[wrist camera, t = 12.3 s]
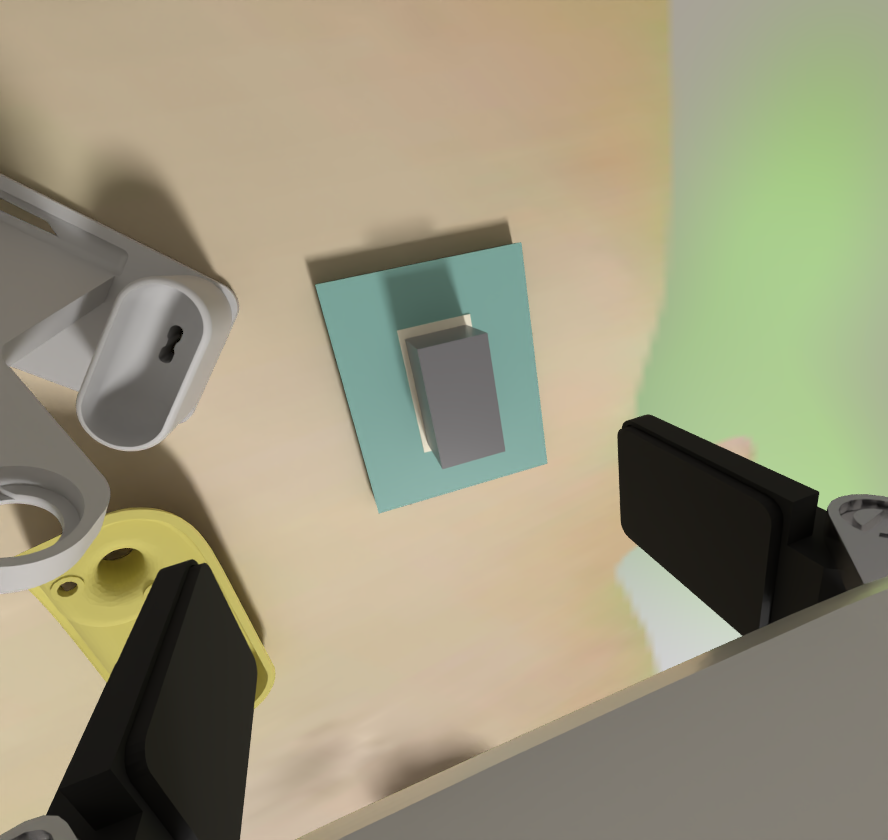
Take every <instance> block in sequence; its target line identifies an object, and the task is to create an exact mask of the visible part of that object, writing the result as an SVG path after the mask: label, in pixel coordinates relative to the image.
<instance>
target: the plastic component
mask: <svg viewBox="0 0 888 840" xmlns="http://www.w3.org/2000/svg"><path fill="white" fill-rule="evenodd" d="M61 535H62V534H61ZM61 535H59V536H57V537H55V538H53V539H51V540H49V541H47V542H44V543H42V544H40V545H38V546H36V547H33V548H31V549H29V550H27V551H25V552H23V553H21V554H18V555H16V556H22V555H27V554H31V553H34V552H38V551H41V550H43V549H46V548H48V547H50V546H52V545H54V544H55V543H56V542H57V541H58V540H59V538H60V537H61ZM122 548H133V550H132V551H131V553H129V554H128V555H127V556H125V557H123V558H121V559H116V560H104V559H102V558H103V557H104V556H106V555H107V554H108V553H110V552H112V551H114V550H118V549H122ZM16 556H14V557H16ZM190 559H193V560H195V561H197V562H198V564H202V563H207V564H208V565H209V567H210V568H211V570H212V572H213V574H214V576H215V578H216V580H217V582H218V584H219V586H220V588H221V590H222V592H223V595H224V597H225V599H226V601H227V603H228V605H229V607H230V609H231V611H232V613H233V615H234V617H235V619H236V621H237V623H238V625H239V627H240V629H241V631H242V633H243V635H244V637H245V639H246V641H247V643H248V645H249V647H250V649H251V651H252V653H253V655H254V658H255V661H256V665H257V685H256V694H255V703H254V709H255V708H256V707H257V706H258V705H259V704H260V703H261V702H262V701H263V700H264V699H265V698H266V696H267V695H268V694H269V692H270V690H271V688H272V686H273V684H274V680H275V668H274V666H273V664H272V662H271V660H270V658H269V656H268V654H267V652H266V650H265V648H264V647H263V645H262V643H261V641H260V639H259V637H258V635H257V633H256V631H255V629H254V627H253V626H252V624H251V622H250V620H249V618H248V616H247V614H246V612H245V610H244V608H243V607H242V605H241V603H240V601H239V599H238V597H237V595H236V593H235V591H234V589H233V588H232V586H231V584H230V582H229V580H228V578H227V576H226V574H225V572H224V570H223V569H222V567H221V565H220V563H219V561H218V560H217V558H216V556H215V554H214V553H213V551H212V549H211V548H210V546H209V545H208V543H207V542H206V541H205V539H204V538H203V537H202V535H201V534H200V533H199V532H198V531H197V530H196V529H195V528H194V527H193V526H192V525H190V524H189V523H188V522H187V521H185V520H184V519H182V518H180V517H179V516H177V515H175V514H172V513H170V512H167V511H164V510H161V509H156V508H125V509H120V510H116V511H113V512H110V513H107V514H105V518H104V521H103V524H102V527H101V530H100V532H99V534H98V535H97V537H96V538H95V539H94V541H93V542H92V543H91V545H90V546H89V548H88V549H87V550H86V552H85V553H84V555H83V556H82V557H81V558H80V560H79V561H78V562H77V563H76V564H75V565H74V566H73V567H72V568H70V569H69V570H68V571H67V572H65V573H64V574H62V575H61V576H59V577H57V578H55V579H54V580H52V581H49V582H47V583H45V584H42V585H40V586H37V587H34V588H31V589H28V590H29V591H30V592H31V593H32V594H33V595H34V596H35V597H36V598H37V599H38V600H39V601H40V602H41V603H42V604H43V605H44V606H45V607H46V608H47V609H48V611H49V612H50V613H51V614H52V615H53V616H54V617H55V619H56V620H57V621H58V622H59V623H60V624H61V626H62V627H63V628H64V629H65V631H66V632H67V633H68V634H69V635H70V637H71V638H72V639H73V640H74V642H75V643H76V644H77V645H78V647H79V648H80V649H81V651H82V652H83V653H84V654H85V656H86V657H87V658H88V659H89V661H90V662H91V663H92V665H93V666H94V667H95V668H96V670H97V671H98V672H99V673H100V675H101V676H102V677H103V679H104V680H105V681H106V682H107V681H108V679H109V677H110V675H111V672H112V670H113V668H114V666H115V664H116V663H117V661H118V659H119V657H120V654H121V652H122V650H123V648H124V646H125V643H126V641H127V639H128V637H129V635H130V632H131V630H132V628H133V626H134V624H135V622H136V619H137V617H138V615H139V613H140V611H141V608H142V606H143V604H144V602H145V600H146V597H147V595H148V593H149V591H150V589H151V587H152V584H153V582H154V580H155V578H156V576H157V573H158V572H159V570H160V569H162V568H165V567H168V566H172V565H175V564H178V563H181V562H184V561H187V560H190ZM65 582H75V583H76V584H77V585H76V586H75V587H74V588H73V589H72V590H69V591H65V590H64V589H63V587H62V586H61V584H63V583H65Z"/></svg>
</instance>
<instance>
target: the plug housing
mask: <svg viewBox="0 0 888 840" xmlns="http://www.w3.org/2000/svg"><path fill="white" fill-rule="evenodd" d="M405 342H406V346H407V351H408V356H409V360H410V365H411V369H412V374H413V378H414V383H415V387H416V392H417V397H418V401H419V406H420V410H421V415H422V419H423V424H424V428H425V433H426V437H427V442H428V445H429V447H430V449H431V451H432V452H433V454H434V456H435V457H436V459H437V461H438V462H439V464H440V466H441V468H442V469H446V468H449V467H453V466H456V465H460V464H463V463H467V462H470V461H473V460H477V459H480V458H484V457H487V456H491V455H494V454H498V453H501V452H505V444H504V438H503V431H502V425H501V418H500V412H499V405H498V399H497V392H496V386H495V379H494V373H493V366H492V360H491V353H490V347H489V340H488V334H487V333H486V332H484V331H481V330H479V329H476V328H473V327H471V326H468V325H462V326H458V327H454V328H450V329H445V330H441V331H437V332H432V333H428V334H424V335H420V336H415V337H411V338H407V339H405Z"/></svg>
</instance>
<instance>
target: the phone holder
mask: <svg viewBox="0 0 888 840" xmlns="http://www.w3.org/2000/svg"><path fill="white" fill-rule="evenodd" d="M0 198H1V199H3V200H5V201H7V202H9V203H11V204H13V205H15V206H17V207H19V208H21V209H23V210H25V211H27V212H29V213H31V214H33V215H35V216H37V217H39V218H41V219H43V220H45V221H47V222H48V223H49V225H50V226H51V228H52V229H53V230H54V232H55V233H56V235H57V236H56V235H54V234H52V233H50V232H47V231H45V230H43V229H41V228H38V227H36V226H34V225H32V224H30V223H27V222H25V221H23V220H21V219H19V218H16V217H14V216H12V215H10V214H7V213H5V212H3V211H1V210H0V505H2V504H10V503H20V504H29V505H34V506H38V507H41V508H43V509H45V510H47V511H49V512H51V513H52V514H53V515H55V516H56V518H57V519H58V520H59V522H60V523H61V526H62V531H63V532H62V535H61V537H60V538H59V540H58V541H57V542H56V543H55V544H54V545H52V546H50V547H48V548H46V549H43V550H41V551H38V552H34V553H31V554H27V555H22V556H16V557H8V558H0V594H5V593H13V592H19V591H23V590H27V589H31V588H34V587H37V586H40V585H42V584H45V583H47V582H49V581H52V580H54V579H55V578H57V577H59V576H61V575H62V574H64V573H65V572H67V571H68V570H69V569H70V568H72V567H73V566H74V565H75V564H76V563H77V562H78V561H79V560H80V558H81V557H82V556H83V555H84V553H85V552H86V550H87V549H88V548H89V546H90V545H91V543H92V542H93V541H94V539H95V538H96V537H97V535H98V534H99V532H100V530H101V527H102V524H103V521H104V518H105V514H106V511H107V507H108V504H109V500H110V487H109V484H108V482H107V480H106V479H105V477H104V476H103V475H102V474H101V473H100V471H99V470H98V469H97V468H96V467H95V466H94V464H93V463H92V462H91V461H90V460H89V459H88V457H87V456H86V455H85V454H84V453H83V452H82V450H81V449H80V448H79V447H78V446H77V445H76V443H75V442H74V441H73V440H72V439H71V438H70V436H69V435H68V434H67V433H66V432H65V431H64V429H63V428H62V427H61V426H60V425H59V424H58V423H57V421H56V420H55V419H54V418H53V417H52V416H51V414H50V413H49V412H48V411H47V410H46V409H45V407H44V406H43V405H42V404H41V403H40V402H39V400H38V399H37V398H36V397H35V396H34V395H33V393H32V392H31V391H30V390H29V389H28V388H27V386H26V385H25V384H24V383H23V382H22V381H21V379H20V378H19V377H18V376H17V375H16V374H15V372H14V371H13V370H12V369H11V368H10V366H11V367H14V368H17V369H19V370H22V371H25V372H27V373H30V374H33V375H35V376H38V377H41V378H43V379H46V380H49V381H51V382H54V383H57V384H59V385H62V386H65V387H67V388H70V389H73V390H75V391H78V392H79V393H78V395H77V399H76V413H77V417H78V419H79V422H80V424H81V425H82V427H83V428H84V430H85V431H86V432H87V433H88V434H89V435H90V436H91V437H92V438H93V439H95V440H96V441H98V442H99V443H101V444H103V445H105V446H107V447H110V448H113V449H116V450H122V451H140V450H144V449H148V448H150V447H153V446H155V445H157V444H158V443H160V442H161V441H162V440H163V439H165V438H166V437H167V435H168V434H169V433H170V432H171V431H172V430H173V429H174V428H175V427H176V426H177V425H178V424H180V423H183V422H185V421H186V420H188V419H189V418H190V417H191V416H192V414H193V413H194V411H195V409H196V407H197V405H198V403H199V400H200V398H201V396H202V394H203V391H204V389H205V387H206V385H207V382H208V380H209V378H210V376H211V373H212V371H213V369H214V367H215V365H216V362H217V360H218V358H219V356H220V353H221V351H222V349H223V347H224V344H225V342H226V340H227V338H228V336H229V333H230V331H231V329H232V327H233V324H234V322H235V320H236V318H237V315H238V312H239V302H238V299H237V297H236V295H235V294H234V292H233V291H232V290H231V289H230V288H229V287H227V286H226V285H224V284H222V283H220V282H218V281H216V280H214V279H212V278H210V277H208V276H206V275H204V274H202V273H200V272H198V271H196V270H194V269H192V268H190V267H188V266H186V265H184V264H182V263H180V262H178V261H176V260H174V259H172V258H170V257H168V256H166V255H164V254H162V253H160V252H158V251H156V250H154V249H152V248H150V247H148V246H146V245H144V244H142V243H140V242H138V241H136V240H134V239H132V238H130V237H128V236H126V235H124V234H122V233H120V232H118V231H116V230H114V229H112V228H110V227H108V226H106V225H104V224H102V223H100V222H97V221H95V220H93V219H91V218H89V217H87V216H85V215H83V214H81V213H79V212H77V211H75V210H73V209H71V208H69V207H67V206H65V205H63V204H61V203H59V202H57V201H55V200H53V199H51V198H49V197H47V196H45V195H43V194H41V193H39V192H37V191H35V190H33V189H31V188H29V187H27V186H25V185H23V184H21V183H19V182H17V181H15V180H13V179H11V178H9V177H7V176H5V175H3V174H1V173H0ZM181 328H182V329H183V335H182V338H181V340H180V341H179V342H178V343H176V345H175V347H174V352H175V354H173V353H172V351H171V350H172V348H173V346H174V344H175V342H176V341H177V340H179V338H180V336H181V332H180V330H181Z"/></svg>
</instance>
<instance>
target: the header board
mask: <svg viewBox="0 0 888 840" xmlns="http://www.w3.org/2000/svg"><path fill="white" fill-rule="evenodd" d="M315 286H316V290H317V293H318V297H319V300H320V304H321V308H322V311H323V315H324V318H325V322H326V325H327V329H328V333H329V336H330V340H331V343H332V347H333V350H334V354H335V358H336V361H337V365H338V368H339V372H340V376H341V379H342V383H343V386H344V390H345V393H346V397H347V401H348V404H349V408H350V411H351V415H352V419H353V422H354V426H355V429H356V433H357V436H358V440H359V444H360V447H361V451H362V454H363V458H364V461H365V465H366V469H367V472H368V476H369V479H370V483H371V487H372V490H373V494H374V497H375V501H376V504H377V508H378V512H379V513H382V512H385V511H389V510H392V509H396V508H399V507H402V506H406V505H409V504H412V503H416V502H419V501H423V500H426V499H429V498H433V497H436V496H439V495H443V494H446V493H449V492H453V491H456V490H460V489H463V488H466V487H470V486H473V485H476V484H480V483H483V482H487V481H490V480H493V479H497V478H500V477H503V476H507V475H510V474H513V473H517V472H520V471H524V470H527V469H530V468H534V467H537V466H540V465H544V464H547V456H546V448H545V439H544V431H543V423H542V414H541V406H540V397H539V389H538V380H537V372H536V363H535V355H534V346H533V338H532V329H531V321H530V312H529V304H528V296H527V287H526V279H525V270H524V262H523V253H522V245H521V242H520V243H513V244H508V245H504V246H499V247H494V248H489V249H484V250H479V251H474V252H470V253H465V254H460V255H455V256H450V257H445V258H440V259H436V260H431V261H426V262H421V263H416V264H411V265H407V266H402V267H397V268H392V269H387V270H382V271H377V272H373V273H368V274H363V275H358V276H353V277H348V278H343V279H339V280H334V281H329V282H324V283H319V284H315ZM462 325H468V326H471V327H473V328H476V329H479V330H481V331H484V332H486V333H487V334H488V340H489V347H490V353H491V360H492V366H493V373H494V379H495V386H496V392H497V399H498V405H499V412H500V418H501V425H502V431H503V438H504V444H505V452H501V453H498V454H494V455H491V456H487V457H484V458H480V459H477V460H473V461H470V462H467V463H463V464H460V465H456V466H453V467H449V468H446V469H442V468H441V466H440V464H439V462H438V461H437V459H436V457H435V456H434V454H433V452H432V451H431V449H430V447H429V445H428V442H427V437H426V433H425V428H424V424H423V419H422V415H421V410H420V406H419V401H418V397H417V392H416V387H415V383H414V378H413V374H412V369H411V365H410V360H409V356H408V351H407V346H406V342H405V339H407V338H411V337H415V336H420V335H424V334H428V333H432V332H437V331H441V330H445V329H450V328H454V327H458V326H462Z"/></svg>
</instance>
